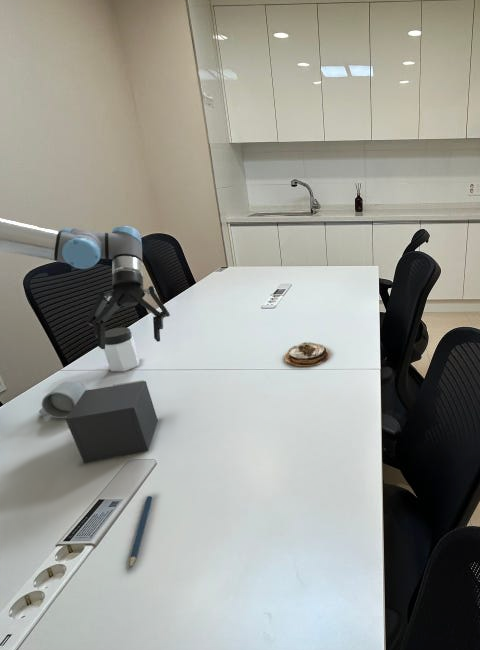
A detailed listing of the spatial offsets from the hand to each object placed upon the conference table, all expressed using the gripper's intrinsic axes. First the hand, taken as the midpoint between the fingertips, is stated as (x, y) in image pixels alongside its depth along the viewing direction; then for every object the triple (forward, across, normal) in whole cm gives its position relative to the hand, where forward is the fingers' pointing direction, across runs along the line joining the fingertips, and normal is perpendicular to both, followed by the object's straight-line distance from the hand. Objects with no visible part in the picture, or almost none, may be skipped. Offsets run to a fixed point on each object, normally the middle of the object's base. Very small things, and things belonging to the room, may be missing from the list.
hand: (129, 343), depth 105 cm
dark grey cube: (+27, 0, +5) cm, 27 cm away
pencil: (+48, -10, +25) cm, 55 cm away
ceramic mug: (+13, +19, -9) cm, 25 cm away
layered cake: (+7, -48, -16) cm, 51 cm away
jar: (-3, +10, -26) cm, 27 cm away
